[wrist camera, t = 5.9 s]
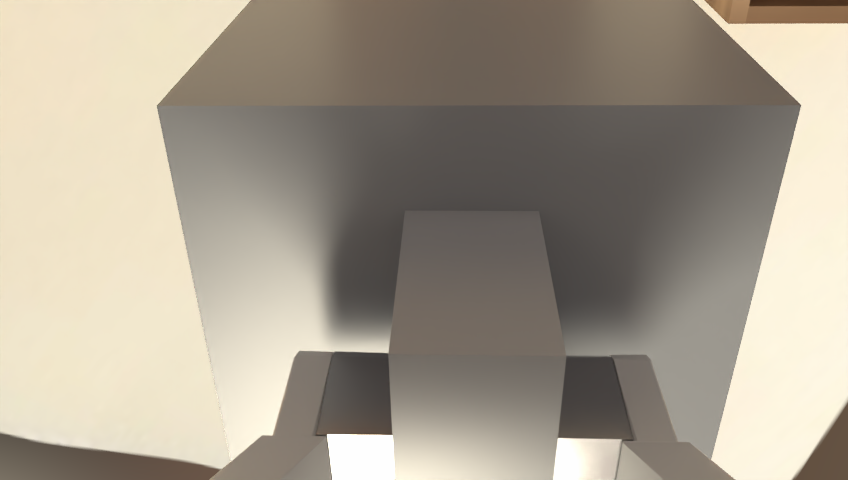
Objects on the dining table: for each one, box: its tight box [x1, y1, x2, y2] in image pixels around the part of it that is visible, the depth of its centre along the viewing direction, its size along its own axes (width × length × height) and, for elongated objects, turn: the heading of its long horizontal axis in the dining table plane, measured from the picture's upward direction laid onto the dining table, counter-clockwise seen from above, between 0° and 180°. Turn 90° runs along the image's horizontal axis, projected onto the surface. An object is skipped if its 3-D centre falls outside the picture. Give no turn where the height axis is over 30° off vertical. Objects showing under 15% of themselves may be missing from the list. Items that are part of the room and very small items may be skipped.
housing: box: [157, 0, 801, 480], centre depth 13 cm, size 8×8×9 cm
